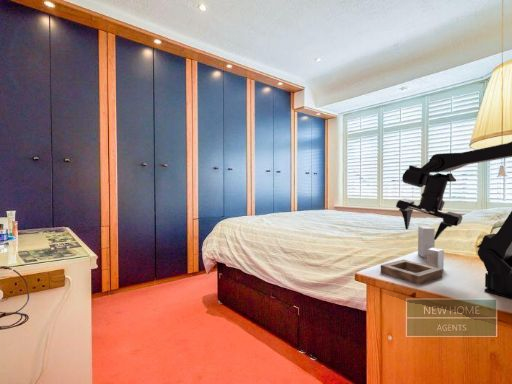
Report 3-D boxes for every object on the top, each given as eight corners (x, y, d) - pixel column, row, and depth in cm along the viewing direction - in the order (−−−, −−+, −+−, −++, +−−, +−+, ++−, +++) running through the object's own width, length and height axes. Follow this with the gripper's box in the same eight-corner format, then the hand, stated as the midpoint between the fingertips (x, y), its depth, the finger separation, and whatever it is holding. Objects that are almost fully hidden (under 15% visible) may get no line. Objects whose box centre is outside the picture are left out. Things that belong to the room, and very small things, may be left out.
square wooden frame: (441, 276, 88) (442, 269, 88) (418, 284, 82) (418, 276, 82) (403, 266, 100) (403, 259, 100) (380, 272, 94) (380, 265, 94)
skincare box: (434, 258, 109) (435, 228, 109) (423, 257, 110) (423, 228, 110) (428, 254, 115) (428, 226, 115) (417, 253, 116) (417, 226, 116)
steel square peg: (443, 269, 96) (443, 249, 95) (437, 271, 94) (437, 251, 94) (432, 266, 99) (432, 247, 99) (427, 268, 97) (427, 249, 97)
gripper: (473, 197, 89) (457, 240, 93) (412, 182, 102) (402, 220, 107) (464, 201, 82) (448, 247, 86) (401, 184, 95) (389, 225, 99)
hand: (420, 234), depth 95 cm, fingers open, 9 cm apart
